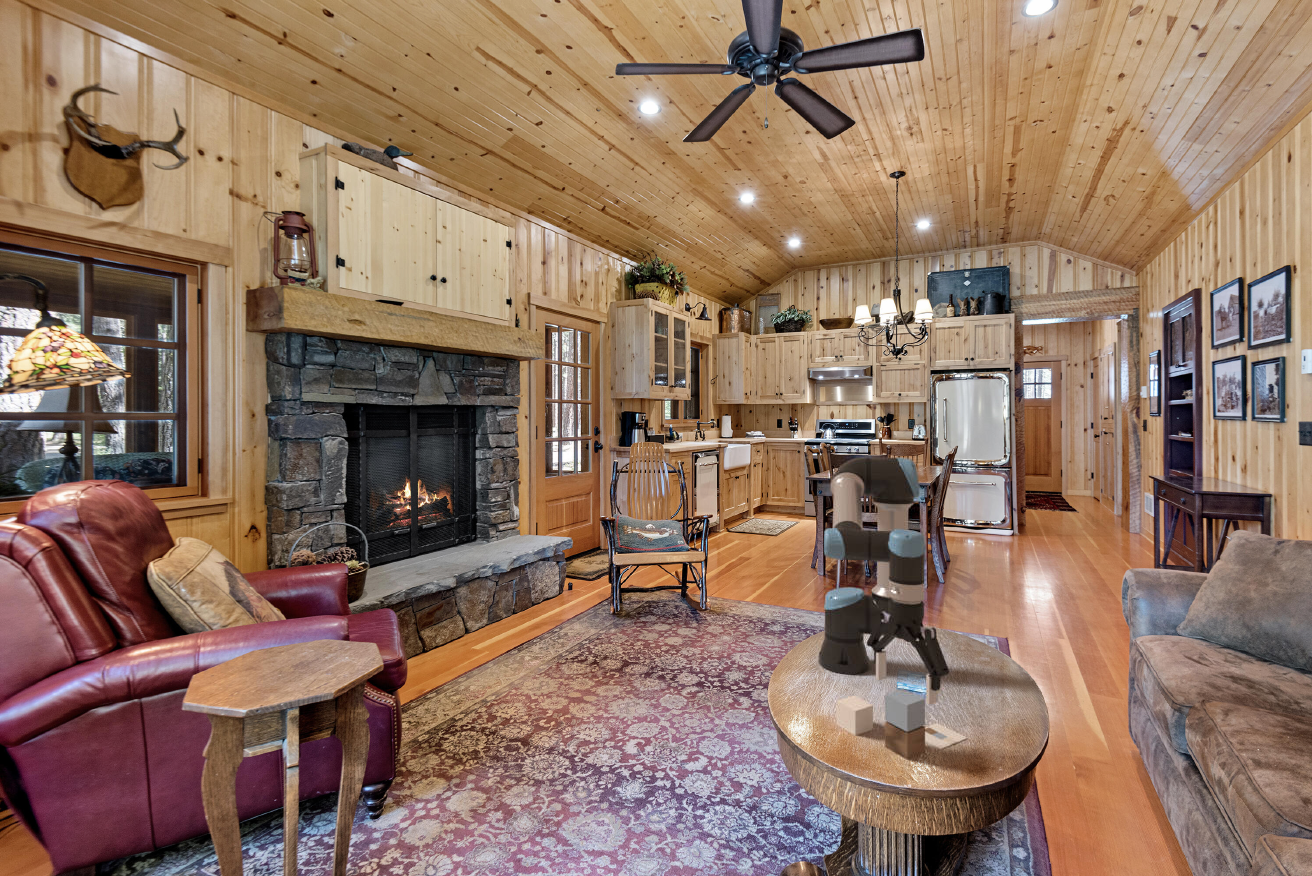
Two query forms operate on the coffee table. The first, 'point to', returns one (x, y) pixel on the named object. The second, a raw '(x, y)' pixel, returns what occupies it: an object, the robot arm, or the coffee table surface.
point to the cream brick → (854, 715)
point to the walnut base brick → (905, 740)
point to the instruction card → (941, 736)
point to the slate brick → (905, 709)
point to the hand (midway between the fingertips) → (905, 690)
